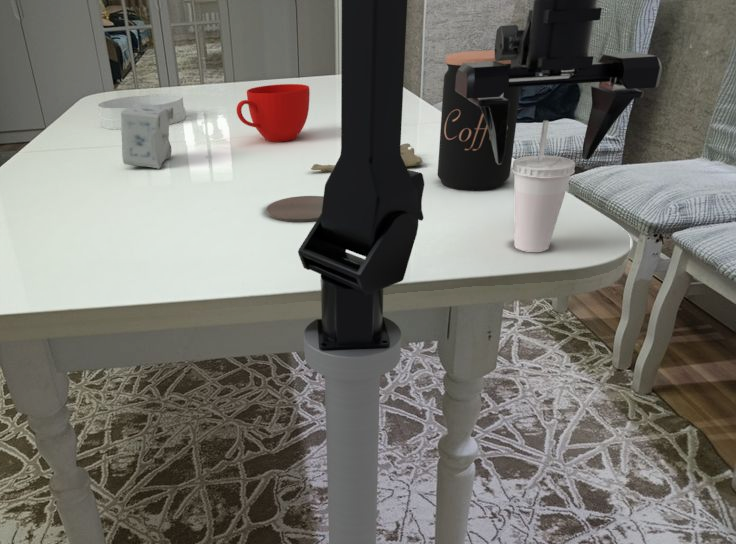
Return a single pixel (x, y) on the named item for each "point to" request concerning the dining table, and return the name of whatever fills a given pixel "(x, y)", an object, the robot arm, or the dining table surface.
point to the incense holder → (146, 135)
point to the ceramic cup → (277, 110)
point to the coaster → (297, 209)
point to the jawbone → (406, 155)
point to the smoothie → (539, 196)
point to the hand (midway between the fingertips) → (541, 161)
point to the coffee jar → (472, 133)
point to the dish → (113, 108)
